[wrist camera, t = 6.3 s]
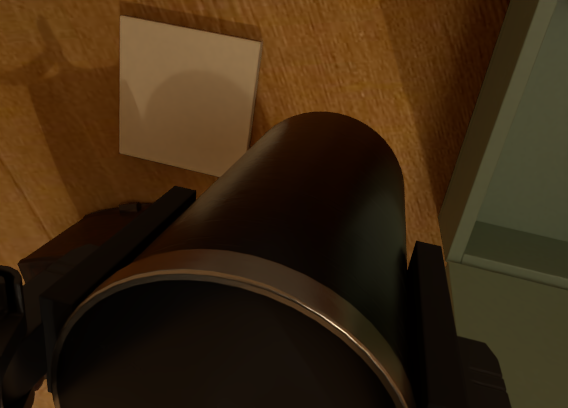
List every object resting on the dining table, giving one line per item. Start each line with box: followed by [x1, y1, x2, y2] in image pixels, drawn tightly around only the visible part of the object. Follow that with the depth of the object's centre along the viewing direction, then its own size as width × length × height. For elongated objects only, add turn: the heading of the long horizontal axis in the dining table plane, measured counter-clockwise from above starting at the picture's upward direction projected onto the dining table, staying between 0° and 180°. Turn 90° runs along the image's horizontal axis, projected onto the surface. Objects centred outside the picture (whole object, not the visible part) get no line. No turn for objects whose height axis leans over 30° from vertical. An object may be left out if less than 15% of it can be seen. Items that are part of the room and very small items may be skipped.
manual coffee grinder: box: [18, 202, 152, 391], centre depth 36 cm, size 16×11×18 cm
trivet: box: [119, 15, 263, 177], centre depth 37 cm, size 11×11×1 cm
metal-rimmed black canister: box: [51, 112, 416, 408], centre depth 15 cm, size 7×7×13 cm
